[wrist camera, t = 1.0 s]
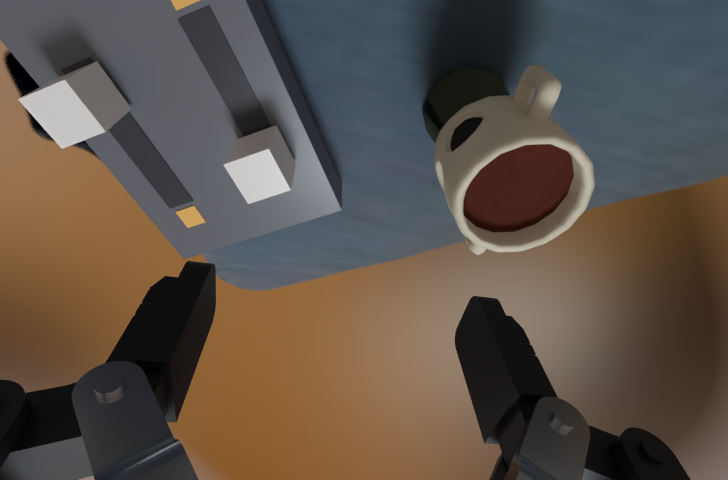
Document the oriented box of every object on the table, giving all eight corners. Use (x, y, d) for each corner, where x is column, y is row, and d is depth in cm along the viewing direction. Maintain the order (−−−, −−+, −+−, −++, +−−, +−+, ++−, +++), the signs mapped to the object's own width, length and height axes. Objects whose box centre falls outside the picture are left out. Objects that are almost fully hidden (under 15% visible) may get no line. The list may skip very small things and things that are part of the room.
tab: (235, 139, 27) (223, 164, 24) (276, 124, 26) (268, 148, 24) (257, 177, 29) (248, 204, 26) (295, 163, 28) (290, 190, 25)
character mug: (439, 19, 27) (498, 78, 17) (538, 39, 28) (651, 106, 18) (401, 164, 33) (426, 271, 23) (481, 176, 34) (540, 284, 24)
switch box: (11, -14, 25) (-38, -5, 21) (213, -112, 22) (191, -117, 19) (197, 230, 37) (183, 260, 33) (341, 183, 34) (341, 211, 31)
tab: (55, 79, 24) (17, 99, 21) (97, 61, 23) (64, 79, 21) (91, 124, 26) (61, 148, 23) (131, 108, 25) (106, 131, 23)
